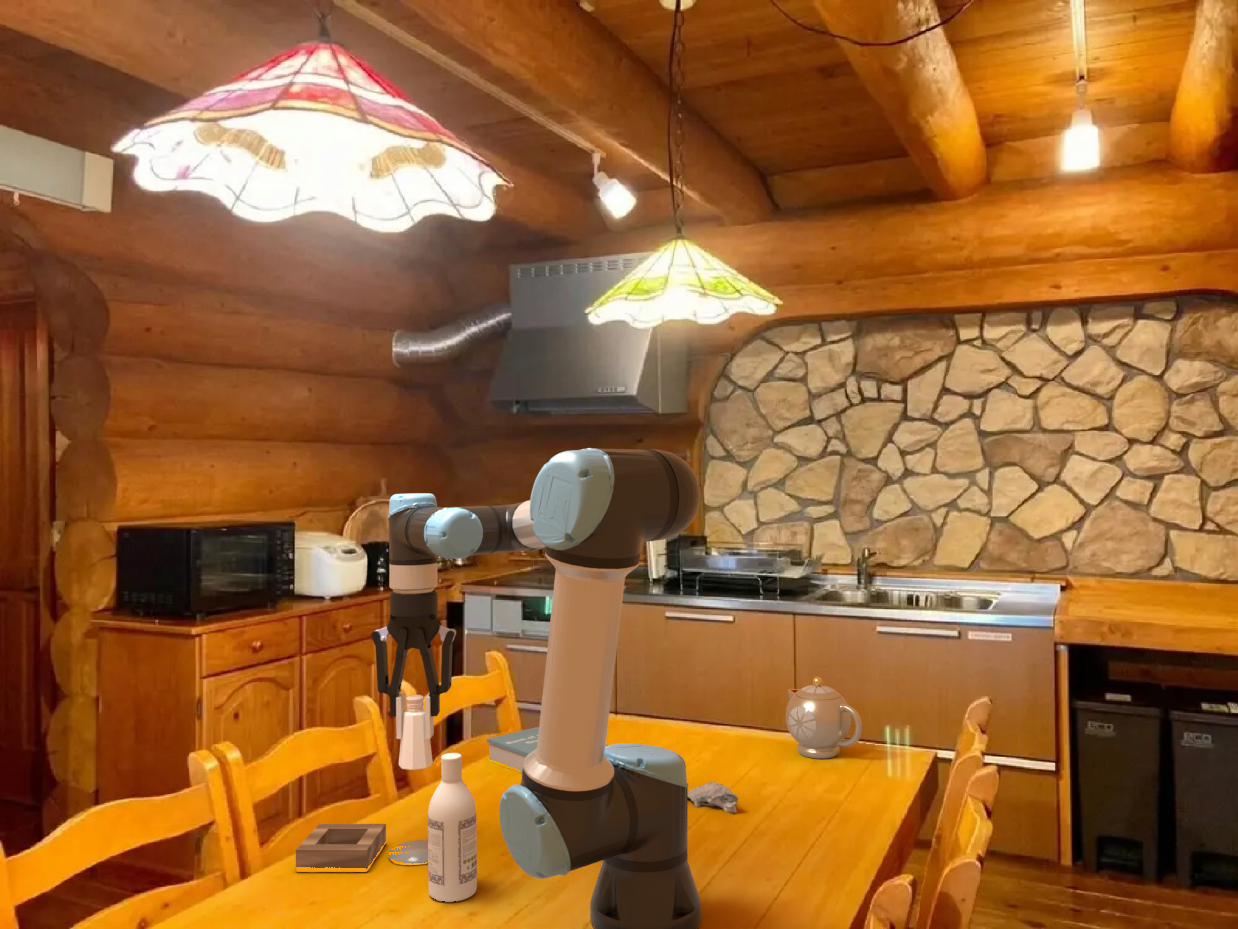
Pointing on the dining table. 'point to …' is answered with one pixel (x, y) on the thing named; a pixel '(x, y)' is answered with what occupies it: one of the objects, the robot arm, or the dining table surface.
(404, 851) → the coaster
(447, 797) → the bath foam
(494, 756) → the book
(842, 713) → the teapot
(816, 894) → the dining table surface
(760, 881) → the dining table surface
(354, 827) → the socket block
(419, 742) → the salt shaker
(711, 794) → the stone
